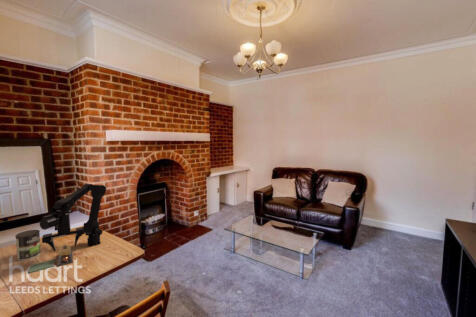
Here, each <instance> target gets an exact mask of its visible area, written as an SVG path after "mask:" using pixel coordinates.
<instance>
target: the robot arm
mask: <svg viewBox="0 0 476 317" xmlns="http://www.w3.org/2000/svg"><path fill="white" fill-rule="evenodd" d="M106 191H107V186H106V185H105V184H92V183H85V184H83V185H82V186H81V187H80V188H78V189H77V190H75V191H74V192H73V193H71V194H70V195H68V196H66V197H64V198H61V199H59V200H57V201H55V202H54V204H53V206H52V208H51V210H50V212H49V213H48V215H44V216H42V219H41V220H40V222H39V226H40V228H41V229H42V230H44V231H45V230H49V229H51V228H54V231H57V233H55V234H53V233H52V232H51V233H45V234H43V235H42V236H41V242H42V244H44V243H45V244H46V245H47V244H48V245H49V246H50V247H51V249H52V251H53V252H56V246H55V242H54V239H56V238H62V237H66V236H71V235H74V236H75V237H74V247H77V244H78V241H79V239H80V237H82V236H83V235H85V236H87V238H86V240H87V245H88V247H93V246H98V245H101V244H102V243H101V235H103V231H104V230H103V229H101V228H100V223H99V221H98V220H99V219H98V218H99V213H100V207H101V202H102V198H103V197H104V196H105V194H106ZM89 192H90V194H91V198H92V200H91V206H90V210H89V214H88V215H89V216H88V220H87V221H86V222H83V226H81V227H76V228H75V230H72V229H71V219H70V215H71V214H72V213H74V211H73V210H72V209H71V208H73V207H74V205H75V203H76V202H77V201H78V200H80V199H81V198H82V197H83V196H85V195H87V194H88V193H89Z"/></svg>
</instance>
